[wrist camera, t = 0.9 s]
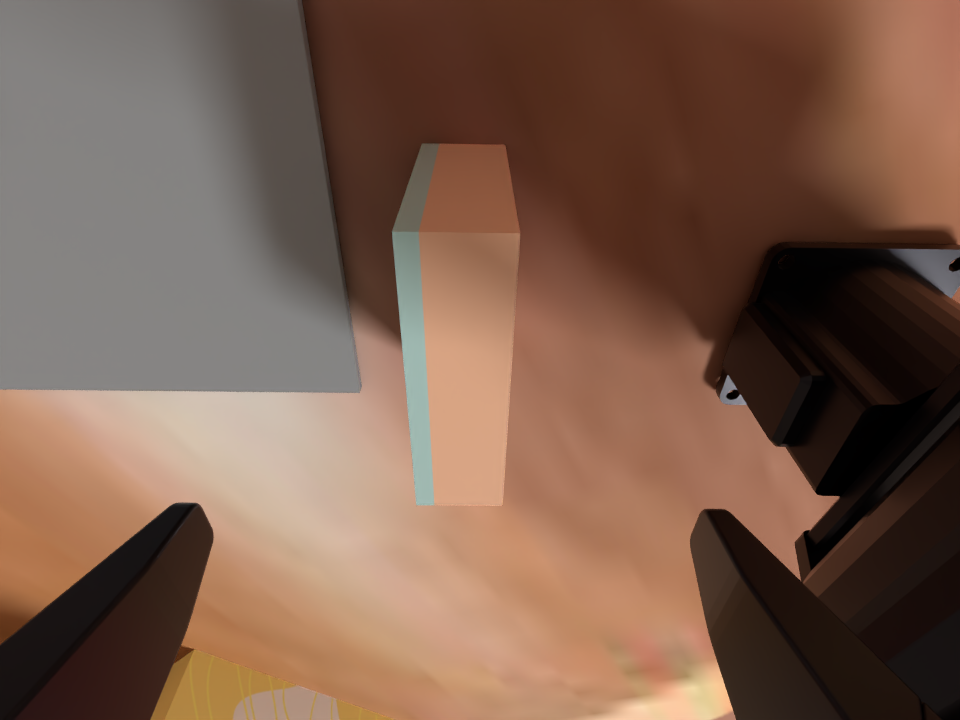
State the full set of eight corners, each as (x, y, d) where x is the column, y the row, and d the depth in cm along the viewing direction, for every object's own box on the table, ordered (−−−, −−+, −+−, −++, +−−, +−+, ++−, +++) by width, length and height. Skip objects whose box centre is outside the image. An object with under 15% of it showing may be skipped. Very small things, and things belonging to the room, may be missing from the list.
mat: (288, -89, 12) (282, -91, 11) (361, 386, 20) (359, 392, 20) (-427, -104, 12) (-453, -107, 11) (-54, 382, 20) (-64, 388, 20)
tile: (505, 144, 15) (520, 233, 10) (495, 365, 20) (502, 505, 14) (422, 143, 15) (391, 231, 10) (432, 364, 20) (416, 504, 14)
